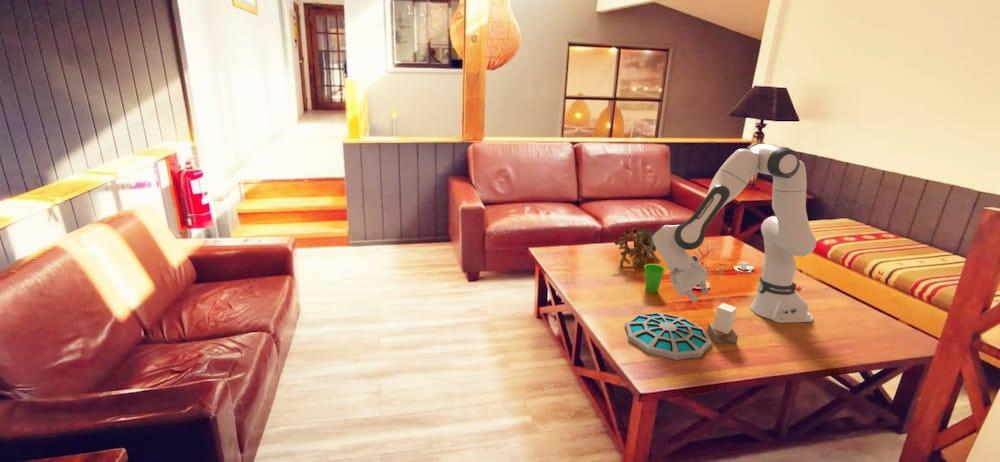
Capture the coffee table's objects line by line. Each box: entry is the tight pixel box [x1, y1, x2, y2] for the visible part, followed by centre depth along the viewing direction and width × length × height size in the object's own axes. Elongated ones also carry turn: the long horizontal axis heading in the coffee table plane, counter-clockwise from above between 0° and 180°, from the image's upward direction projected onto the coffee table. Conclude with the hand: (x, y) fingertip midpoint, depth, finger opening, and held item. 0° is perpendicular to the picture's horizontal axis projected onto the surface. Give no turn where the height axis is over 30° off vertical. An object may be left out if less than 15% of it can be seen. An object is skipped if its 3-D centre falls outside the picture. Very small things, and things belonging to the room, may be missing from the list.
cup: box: [643, 263, 666, 294], centre depth 215 cm, size 9×9×11 cm
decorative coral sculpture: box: [614, 227, 661, 269], centre depth 247 cm, size 24×22×29 cm
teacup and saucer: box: [733, 260, 755, 273], centre depth 241 cm, size 9×8×4 cm
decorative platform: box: [624, 312, 713, 361], centre depth 179 cm, size 31×29×5 cm
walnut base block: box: [706, 322, 739, 345], centre depth 179 cm, size 8×8×4 cm
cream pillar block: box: [713, 302, 738, 334], centre depth 177 cm, size 5×5×9 cm
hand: (701, 297), depth 182 cm, fingers open, 8 cm apart
